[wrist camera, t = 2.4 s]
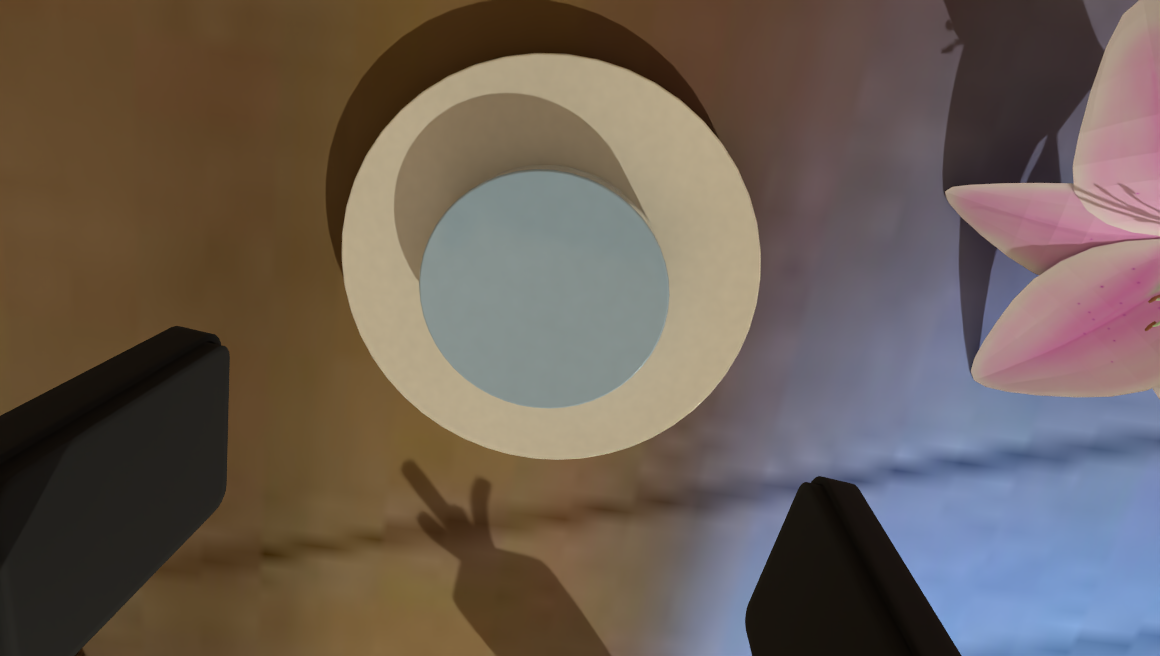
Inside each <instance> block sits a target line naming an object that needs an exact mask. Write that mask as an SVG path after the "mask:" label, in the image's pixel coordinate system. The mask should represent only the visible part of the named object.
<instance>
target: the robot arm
mask: <svg viewBox="0 0 1160 656" xmlns="http://www.w3.org/2000/svg"><path fill="white" fill-rule="evenodd" d="M229 360H230V357H229V351H228V349H227V348H226V347H225V346H221V342H220V340H219V338H218V337H217V336H216V335H214V334H210V333H206V332H202V331H197V330H193V329H189V328H185V327H180V326H175V327H171V328H169V329H167V330H165V331H163V332H161V333H160V334H158V335H156V336H154V337H152V338H150V339H148V340H146V341H144V342H142V343H140V344H138V345H136V346H134V347H133V348H131V349H129V350H127V351H125V352H123V353H121V354H119V355H117V356H115V357H113V358H111V359H109V360H107V361H105V362H104V363H102V364H100V365H98V366H96V367H94V368H92V369H90V370H88V371H86V372H84V373H82V374H80V375H78V376H76V377H75V378H73V379H71V380H69V381H67V382H65V383H63V384H61V385H59V386H57V387H55V388H53V389H51V390H49V391H47V392H46V393H44V394H42V395H40V396H38V397H36V398H34V399H32V400H30V401H28V402H26V403H24V404H22V405H20V406H18V407H17V408H15V409H13V410H11V411H9V412H7V413H5V414H3V415H1V416H0V656H75V655H76V654H77V653H78V652H79V650H80V649H81V648H82V647H83V646H84V645H85V644H86V643H87V642H88V641H89V640H90V639H91V638H92V637H93V636H94V635H95V634H96V633H97V632H98V631H99V630H100V629H101V628H102V627H103V626H104V625H105V624H106V623H107V622H108V621H109V620H110V619H111V618H112V617H113V615H114V614H115V613H116V612H117V611H118V610H119V609H120V608H121V607H122V606H123V605H124V604H125V603H126V602H127V601H128V600H129V599H130V598H131V597H132V596H133V595H134V594H135V593H136V592H137V591H138V590H139V589H140V588H141V587H142V586H143V585H144V584H145V583H146V581H147V580H148V579H149V578H150V577H151V576H152V575H153V574H154V573H155V572H156V571H157V570H158V569H159V568H160V567H161V566H162V565H163V564H164V563H165V562H166V561H167V560H168V559H169V558H170V557H171V556H172V555H173V554H174V553H175V552H176V551H177V550H178V549H179V548H180V546H181V545H182V544H183V543H184V542H185V541H186V540H187V539H188V538H189V537H190V536H191V535H192V534H193V533H194V532H195V531H196V530H197V529H198V528H199V527H200V526H201V525H202V524H203V523H204V522H205V521H206V520H207V519H208V518H209V517H210V516H211V515H212V514H213V512H214V511H215V510H216V509H217V508H218V507H219V505H220V503H221V502H222V499H223V497H224V494H225V491H226V481H227V441H228V401H229ZM745 625H746V632H747V636H748V640H749V644H750V648H751V652H752V656H961V654H960V653H959V651H958V649H957V648H956V646H955V645H954V643H953V641H952V640H951V638H950V636H949V635H948V633H947V632H946V630H945V628H944V627H943V625H942V623H941V622H940V620H939V619H938V617H937V615H936V614H935V612H934V610H933V609H932V607H931V606H930V604H929V602H928V601H927V599H926V597H925V596H924V594H923V593H922V591H921V589H920V588H919V586H918V584H917V583H916V581H915V580H914V578H913V576H912V575H911V573H910V571H909V570H908V568H907V567H906V565H905V563H904V562H903V560H902V558H901V557H900V555H899V554H898V552H897V550H896V549H895V547H894V545H893V544H892V542H891V541H890V539H889V537H888V536H887V534H886V532H885V531H884V529H883V528H882V526H881V524H880V523H879V521H878V519H877V518H876V516H875V515H874V513H873V511H872V510H871V508H870V506H869V505H868V503H867V502H866V500H865V498H864V497H863V495H862V493H861V492H860V490H859V489H858V487H857V486H856V485H854V484H851V483H847V482H842V481H838V480H834V479H830V478H825V477H821V476H818V477H816V478H815V479H814V480H813V481H812V482H811V483H808V482H805V483H803V484H802V485H801V486H800V487H799V489H798V491H797V493H796V496H795V498H794V500H793V503H792V505H791V507H790V510H789V512H788V514H787V516H786V519H785V521H784V523H783V526H782V528H781V530H780V532H779V535H778V537H777V539H776V542H775V544H774V546H773V549H772V551H771V553H770V555H769V558H768V560H767V562H766V565H765V567H764V569H763V572H762V574H761V576H760V578H759V581H758V583H757V585H756V588H755V590H754V592H753V594H752V597H751V599H750V601H749V604H748V607H747V611H746V618H745Z"/></svg>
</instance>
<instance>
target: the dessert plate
mask: <svg viewBox="0 0 1160 656" xmlns="http://www.w3.org/2000/svg"><path fill="white" fill-rule="evenodd" d="M539 164H542V165H559V166H565V167H571V168H575V169H578V170H581V171H585V172H588V173H590V174H592V175H595V176H597V177H599V178H601V179H603V180H605V181H607V182H608V183H610V184H611V185H613V186H614V187H616V188H617V189H619V190H620V191H621V192H622V193H623V194H625V195H626V196H627V197H628V198H629V199H631V200H632V202H633V203H634V204H635V205H636V206H637V207H638V208H639V209H640V211H641V212H642V213H643V214H644V216H645V217H646V219H647V220H648V222H649V223H650V225H651V227H652V229H653V231H654V233H655V235H656V237H657V239H658V241H659V244H660V247H661V250H662V253H663V256H664V260H665V263H666V268H667V273H668V278H669V294H670V296H669V307H668V314H667V318H666V322H665V326H664V329H663V332H662V334H661V337H660V340H659V342H658V343H657V345H656V347H655V349H654V351H653V353H652V354H651V356H650V357H649V358H648V360H647V361H646V362H645V364H644V365H643V366H642V367H641V368H640V369H639V370H638V371H637V373H636V374H635V375H634V376H633V377H631V378H630V379H629V380H628V381H626V382H625V383H624V384H623V385H621V386H620V387H618V388H617V389H615V390H613V391H612V392H610V393H609V394H607V395H605V396H602V397H600V398H598V399H596V400H593V401H590V402H587V403H584V404H580V405H576V406H570V407H565V408H533V407H527V406H521V405H517V404H514V403H510V402H507V401H504V400H501V399H499V398H497V397H494V396H492V395H490V394H488V393H486V392H484V391H483V390H481V389H479V388H477V387H476V386H474V385H473V384H472V383H470V382H469V381H468V380H466V379H465V378H464V377H463V376H462V375H460V374H459V373H458V372H457V371H456V370H455V369H454V368H453V367H452V366H451V364H450V363H449V362H448V361H447V360H446V359H445V357H444V356H443V355H442V353H441V352H440V350H439V349H438V347H437V346H436V344H435V342H434V340H433V338H432V336H431V334H430V332H429V330H428V327H427V325H426V322H425V319H424V316H423V312H422V307H421V302H420V292H419V277H420V267H421V262H422V257H423V253H424V250H425V247H426V244H427V242H428V239H429V237H430V235H431V233H432V231H433V229H434V228H435V226H436V224H437V223H438V221H439V220H440V218H441V217H442V216H443V214H444V213H445V212H446V210H447V209H448V208H449V207H450V206H451V205H452V204H453V203H454V202H455V201H456V200H457V199H459V198H460V197H461V196H462V195H464V194H465V193H466V192H468V191H469V190H470V189H472V188H473V187H474V186H476V185H477V184H479V183H480V182H482V181H484V180H486V179H488V178H489V177H491V176H493V175H496V174H498V173H501V172H503V171H506V170H509V169H513V168H517V167H522V166H529V165H539ZM342 267H343V276H344V284H345V289H346V293H347V297H348V301H349V305H350V309H351V312H352V315H353V317H354V320H355V323H356V325H357V328H358V330H359V333H360V335H361V337H362V339H363V341H364V343H365V344H366V346H367V348H368V350H369V352H370V354H371V356H372V357H373V359H374V360H375V362H376V363H377V364H378V366H379V367H380V369H381V370H382V372H383V373H384V374H385V376H386V377H387V378H388V379H389V381H390V382H391V383H392V384H393V385H394V386H395V387H396V388H397V390H398V391H399V392H400V393H401V394H402V395H403V396H404V397H405V398H406V399H407V400H408V401H410V402H411V403H412V404H413V405H414V406H415V407H416V408H417V409H419V410H420V411H421V412H422V413H423V414H425V415H426V416H428V417H429V418H431V419H432V420H433V421H435V422H436V423H438V424H439V425H441V426H442V427H444V428H446V429H447V430H449V431H451V432H453V433H455V434H457V435H458V436H460V437H462V438H464V439H466V440H469V441H471V442H474V443H476V444H479V445H481V446H484V447H486V448H489V449H493V450H496V451H500V452H503V453H507V454H511V455H517V456H523V457H529V458H537V459H555V460H561V459H578V458H587V457H592V456H598V455H604V454H608V453H612V452H615V451H618V450H622V449H625V448H629V447H631V446H634V445H636V444H638V443H641V442H643V441H645V440H648V439H650V438H652V437H654V436H656V435H657V434H659V433H661V432H663V431H664V430H666V429H668V428H669V427H671V426H673V425H674V424H676V423H677V422H678V421H680V420H681V419H682V418H684V417H685V416H686V415H688V414H689V413H690V412H692V411H693V410H694V409H695V408H696V407H697V406H698V405H699V404H700V403H701V402H702V401H703V400H704V399H705V398H706V397H707V396H708V395H709V394H710V393H711V392H712V391H713V390H714V388H715V387H716V386H717V385H718V383H719V382H720V381H721V380H722V378H723V377H724V376H725V375H726V373H727V371H728V370H729V368H730V367H731V365H732V363H733V362H734V360H735V358H736V357H737V355H738V353H739V352H740V349H741V347H742V345H743V342H744V340H745V338H746V336H747V333H748V331H749V329H750V325H751V322H752V318H753V315H754V311H755V308H756V304H757V298H758V291H759V285H760V278H761V248H760V241H759V233H758V226H757V220H756V217H755V213H754V210H753V206H752V202H751V199H750V195H749V193H748V191H747V188H746V186H745V184H744V182H743V179H742V177H741V175H740V172H739V170H738V168H737V166H736V165H735V163H734V162H733V160H732V158H731V157H730V155H729V153H728V152H727V150H726V149H725V147H724V145H723V144H722V142H721V141H720V140H719V139H718V138H717V136H716V135H715V134H714V133H713V132H712V130H711V129H710V128H709V127H708V126H707V124H706V123H705V122H704V121H703V120H702V119H701V118H700V117H699V116H698V115H697V114H696V113H695V112H693V111H692V110H691V109H690V108H689V107H688V106H687V105H686V104H685V103H684V102H683V101H681V100H680V99H679V98H677V97H676V96H674V95H673V94H671V93H670V92H668V91H667V90H665V89H664V88H663V87H661V86H660V85H658V84H657V83H655V82H653V81H651V80H649V79H647V78H645V77H643V76H641V75H639V74H637V73H635V72H633V71H631V70H629V69H626V68H623V67H620V66H617V65H614V64H611V63H608V62H605V61H602V60H599V59H594V58H589V57H583V56H577V55H572V54H560V53H529V54H520V55H511V56H504V57H500V58H497V59H493V60H489V61H485V62H481V63H478V64H475V65H472V66H470V67H467V68H465V69H463V70H460V71H458V72H456V73H453V74H451V75H449V76H447V77H445V78H444V79H442V80H440V81H439V82H437V83H435V84H434V85H432V86H431V87H429V88H427V89H426V90H424V91H423V92H421V93H420V94H419V95H418V96H417V97H415V98H414V99H413V100H412V101H411V102H409V103H408V104H407V105H406V106H405V107H403V108H402V109H401V110H400V111H399V112H398V113H397V114H396V116H395V117H394V118H393V119H392V120H391V121H390V122H389V123H388V125H387V126H386V127H385V128H384V129H383V130H382V131H381V133H380V134H379V136H378V137H377V139H376V140H375V142H374V143H373V145H372V146H371V148H370V150H369V151H368V153H367V154H366V156H365V158H364V160H363V162H362V164H361V167H360V169H359V171H358V173H357V175H356V177H355V179H354V182H353V186H352V189H351V192H350V196H349V199H348V202H347V205H346V211H345V218H344V224H343V230H342Z"/></svg>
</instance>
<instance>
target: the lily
mask: <svg viewBox="0 0 1160 656" xmlns="http://www.w3.org/2000/svg"><path fill="white" fill-rule="evenodd" d="M1073 179H1074V184H1066V183H999V184H977V185H964V186H955V187H951V188H950V189H948V190H947V191H945V194H946V197H947V200H948V202H949V203H950V205H951V206H952V207H953V208H954V209H955V210H956V212H957V213H958V214H959V215H960V216H961V217H962V218H963V219H964V220H965V221H966V222H967V223H968V224H969V225H971V226H972V227H973V228H974V229H975V230H976V231H977V232H978V233H979V234H980V235H981V236H983V237H984V238H985V239H986V240H988V241H989V242H990V243H991V244H993V245H994V246H995V247H997V248H998V249H999V250H1000V251H1002V252H1003V253H1004V254H1005V255H1007V256H1008V257H1009V258H1011V259H1013V260H1014V261H1016V262H1017V263H1019V264H1020V265H1022V266H1023V267H1025V268H1027V269H1028V270H1030V271H1031V272H1033V273H1035V274H1037V275H1039V276H1038V277H1036V278H1035V279H1033V280H1032V281H1031V282H1030V283H1029V284H1028V285H1027V286H1026V287H1025V288H1024V289H1023V290H1022V291H1021V292H1020V293H1019V294H1018V295H1017V296H1016V297H1015V298H1014V299H1013V301H1012V302H1011V303H1010V305H1009V306H1008V307H1007V309H1006V310H1005V311H1004V313H1003V314H1002V315H1001V317H1000V318H999V319H998V321H997V322H996V324H995V325H994V327H993V328H992V330H991V331H990V333H989V334H988V336H987V337H986V339H985V340H984V342H983V344H982V345H981V347H980V349H979V351H978V353H977V354H976V356H975V358H974V361H973V365H972V368H971V373H972V376H973V379H974V380H975V381H976V382H978V383H980V384H982V385H984V386H985V387H989V388H993V389H998V390H1002V391H1006V392H1014V393H1023V394H1031V395H1042V396H1061V397H1111V396H1117V395H1123V394H1129V393H1134V392H1140V391H1146V390H1149V389H1151V388H1153V390H1154V391H1155V393H1156V394H1157V396H1158V397H1159V399H1160V0H1139V1H1138V2H1137V3H1136V4H1134V5H1133V6H1132V7H1131V8H1130V9H1129V10H1128V11H1126V12H1125V13H1124V14H1123V16H1122V18H1121V20H1120V21H1119V23H1118V25H1117V27H1116V29H1115V31H1114V33H1113V35H1112V37H1111V39H1110V41H1109V43H1108V45H1107V47H1106V49H1105V52H1104V55H1103V58H1102V61H1101V63H1100V66H1099V69H1098V72H1097V75H1096V78H1095V81H1094V83H1093V86H1092V89H1091V92H1090V96H1089V99H1088V103H1087V107H1086V110H1085V114H1084V118H1083V121H1082V125H1081V129H1080V132H1079V137H1078V142H1077V147H1076V152H1075V157H1074V162H1073Z"/></svg>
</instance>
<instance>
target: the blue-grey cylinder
mask: <svg viewBox="0 0 1160 656" xmlns="http://www.w3.org/2000/svg"><path fill="white" fill-rule="evenodd" d="M419 292H420V302H421V307H422V312H423V316H424V319H425V322H426V325H427V327H428V330H429V332H430V334H431V336H432V338H433V340H434V342H435V344H436V346H437V347H438V349H439V350H440V352H441V353H442V355H443V356H444V357H445V359H446V360H447V361H448V362H449V363H450V364H451V366H452V367H453V368H454V369H455V370H456V371H457V372H458V373H459V374H460V375H462V376H463V377H464V378H465V379H466V380H468V381H469V382H470V383H472V384H473V385H474V386H476V387H477V388H479V389H481V390H483V391H484V392H486V393H488V394H490V395H492V396H494V397H497V398H499V399H501V400H504V401H507V402H510V403H514V404H517V405H521V406H527V407H533V408H565V407H570V406H576V405H580V404H584V403H587V402H590V401H593V400H596V399H598V398H600V397H602V396H605V395H607V394H609V393H610V392H612V391H613V390H615V389H617V388H618V387H620V386H621V385H623V384H624V383H625V382H626V381H628V380H629V379H630V378H631V377H633V376H634V375H635V374H636V373H637V371H638V370H639V369H640V368H641V367H642V366H643V365H644V364H645V362H646V361H647V360H648V358H649V357H650V356H651V354H652V353H653V351H654V349H655V347H656V345H657V343H658V342H659V340H660V337H661V334H662V332H663V329H664V326H665V322H666V318H667V314H668V307H669V296H670V294H669V278H668V273H667V268H666V263H665V260H664V256H663V253H662V250H661V247H660V244H659V241H658V239H657V237H656V235H655V233H654V231H653V229H652V227H651V225H650V223H649V222H648V220H647V219H646V217H645V216H644V214H643V213H642V212H641V211H640V209H639V208H638V207H637V206H636V205H635V204H634V203H633V202H632V200H631V199H629V198H628V197H627V196H626V195H625V194H623V193H622V192H621V191H620V190H619V189H617V188H616V187H614V186H613V185H611V184H610V183H608V182H607V181H605V180H603V179H601V178H599V177H597V176H595V175H592V174H590V173H588V172H585V171H581V170H578V169H575V168H571V167H565V166H559V165H542V164H539V165H529V166H522V167H517V168H513V169H509V170H506V171H503V172H501V173H498V174H496V175H493V176H491V177H489V178H488V179H486V180H484V181H482V182H480V183H479V184H477V185H476V186H474V187H473V188H472V189H470V190H469V191H468V192H466V193H465V194H464V195H462V196H461V197H460V198H459V199H457V200H456V201H455V202H454V203H453V204H452V205H451V206H450V207H449V208H448V209H447V210H446V212H445V213H444V214H443V216H442V217H441V218H440V220H439V221H438V223H437V224H436V226H435V228H434V229H433V231H432V233H431V235H430V237H429V239H428V242H427V244H426V247H425V250H424V253H423V257H422V262H421V267H420V277H419Z"/></svg>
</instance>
